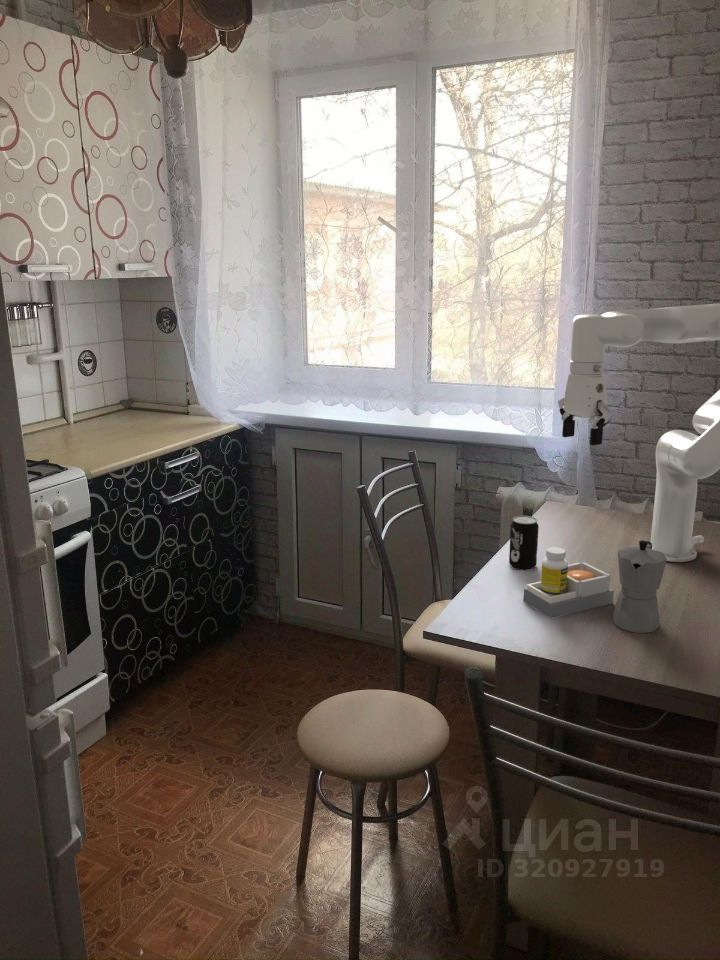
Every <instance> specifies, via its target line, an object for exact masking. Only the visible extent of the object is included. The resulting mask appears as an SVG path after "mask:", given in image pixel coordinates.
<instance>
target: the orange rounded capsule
mask: <svg viewBox="0 0 720 960" xmlns="http://www.w3.org/2000/svg"><path fill="white" fill-rule="evenodd" d="M567 575H568V576H570V577H572V578H574V579H576V580H577V581H579V582H580V581H582V580H586V579H591V578H594V575H593V574H592V573H590V572H588V571H583V570H572V571H569V572H568V573H567ZM579 590H580V588H579Z"/></svg>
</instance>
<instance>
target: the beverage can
mask: <svg viewBox="0 0 720 960" xmlns="http://www.w3.org/2000/svg"><path fill="white" fill-rule="evenodd" d="M539 529H540V528H539V524H538V518H536V517H533V516H529V515H517V516H514V517H513V518H512V521H511V523H510V535H509V555H508V557H509V559H508V563H509V565H511V566H510V567H512V568H513V569H515V570H519V571H528V570H533V569H534V568H535V567H536V565H537V564H538V563H537V561H538V543H539Z"/></svg>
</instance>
